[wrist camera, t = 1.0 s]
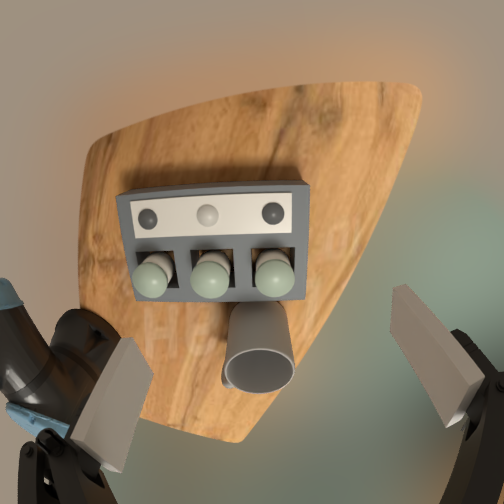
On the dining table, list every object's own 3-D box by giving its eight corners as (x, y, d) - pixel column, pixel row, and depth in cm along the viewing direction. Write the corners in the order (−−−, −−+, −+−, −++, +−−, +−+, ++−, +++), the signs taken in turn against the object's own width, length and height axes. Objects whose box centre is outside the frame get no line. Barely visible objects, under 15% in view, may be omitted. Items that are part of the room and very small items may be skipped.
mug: (254, 285, 38) (254, 335, 28) (298, 316, 40) (310, 368, 30) (205, 335, 41) (194, 388, 31) (248, 360, 43) (247, 413, 33)
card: (136, 237, 30) (134, 238, 30) (131, 201, 29) (129, 202, 28) (291, 231, 30) (291, 233, 30) (291, 192, 29) (291, 193, 28)
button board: (146, 285, 38) (136, 300, 34) (131, 189, 33) (115, 196, 29) (299, 282, 38) (305, 299, 33) (302, 180, 32) (309, 185, 28)
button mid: (199, 280, 34) (192, 298, 30) (195, 249, 32) (187, 264, 28) (232, 280, 34) (230, 298, 30) (230, 248, 32) (227, 263, 28)
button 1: (255, 279, 34) (255, 297, 30) (254, 247, 32) (254, 262, 28) (289, 278, 34) (294, 296, 30) (290, 246, 32) (295, 261, 28)
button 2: (148, 280, 34) (136, 297, 30) (142, 251, 32) (128, 265, 28) (178, 280, 34) (169, 298, 30) (173, 250, 32) (162, 264, 28)
